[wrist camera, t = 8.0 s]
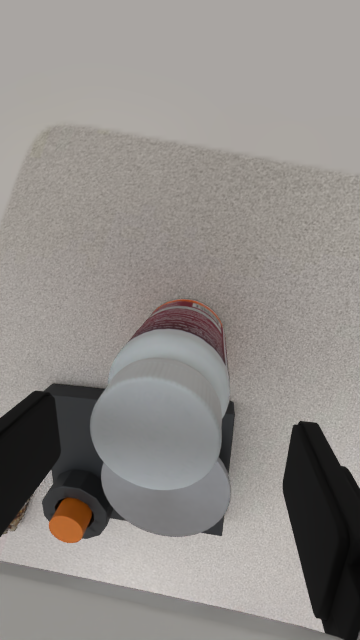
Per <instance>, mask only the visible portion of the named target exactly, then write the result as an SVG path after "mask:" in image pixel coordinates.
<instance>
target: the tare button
mask: <svg viewBox="0 0 360 640" xmlns="http://www.w3.org/2000/svg"><path fill="white" fill-rule="evenodd" d="M91 517H92V510H91V509H90V508H89V506H88V505H87V504H86V503H84V502H82V501H80V500H79V499H75V498H69V497H67V498H65V499H64V500H62V502H61V503H60V505H59V507H58V508H57V510H56V512H55V513H54V515H53V517H52V518H51V520H50V522H49V529H50V531H51V533H52V534H53V535H54V536H55V537H56V538H57V539H59V540H61V541H63V542H67V543H76V542H78V541H80V540H81V539H82V537H83V535H84V533H85V531H86V528H87V526H88V524H89V522H90V519H91Z"/></svg>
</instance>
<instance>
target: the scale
mask: <svg viewBox="0 0 360 640" xmlns="http://www.w3.org/2000/svg"><path fill="white" fill-rule="evenodd" d="M104 390H105V389H99V388H89V387H80V386H70V385H60V384H52V385H50V386H49V387H48V388H47V389H46V390H45V391H44V392H49V393H51V394H52V396H53V397H54V398H55V403H56V411H57V420H58V428H59V436H60V445H61V454H60V457H59V459H58V461H57V462H56V463H55V465H54V466H53V467H52V476H53V483H54V484H53V485H52V486H51V488H50V489H49V491H48V493H47V494H46V496H45V497H44V499H43V501H42V505H43V511H44V516H45V517H46V518H47V519H48V521H49V522H50V520H51V518H52V517H53V515H54V513H55V512H56V510H57V508H58V507H59V505H60V503H61V502H62V500H64V499H65V498H67V497H69V498H75V499H79V500H80V501H82V502H84V503H86V504H87V505H88V506H89V508H90V509H91V510H92V517H91V519H90V522H89V524H88V526H87V528H86V531H85V533H84V535H83V537H82V538H83V539H87V538H91V537H95V536H98V535H100V534H101V532H102V531H103V530H104V529H105V527H106V526H107V524H108V522H109V519H110V518H112V519H119V520H125V519H124V518H123V517H122V516H120V515H119V514H118V513H117V512H116V511H115V509H114V508H113V507H112V506H111V504H110V503H109V501H108V500H107V498H106V496H105V493H104V491H103V487H102V482H101V471H102V466H103V463H104V462H103V460H102V459H101V458H100V456H99V455H98V453H97V451H96V449H95V447H94V444H93V442H92V438H91V433H90V419H91V415H92V411H93V408H94V406H95V404H96V402H97V400H98V399H99V397H100V396H101V394H102V393H103V392H104ZM234 417H235V412H234V403H233V402H229V404H228V407H227V410H226V412H225V415H224V417H223V418H222V426H221V430H222V442H221V449H220V454H219V456H218V457H219V458H220V459H221V461H222V462H223V464H224V466H225V468H226V470H227V473H228V474H229V465H230V455H231V446H232V436H233V427H234ZM125 521H127V520H125ZM223 522H224V516H223V517H222V518H221V519H220V520H219V522H217V523H216V524H215V525H214V526H212V527H211V528H209V529H208V530H205V531H203V532H201V533H206V534H212V535H218V536H222V531H223Z"/></svg>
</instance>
